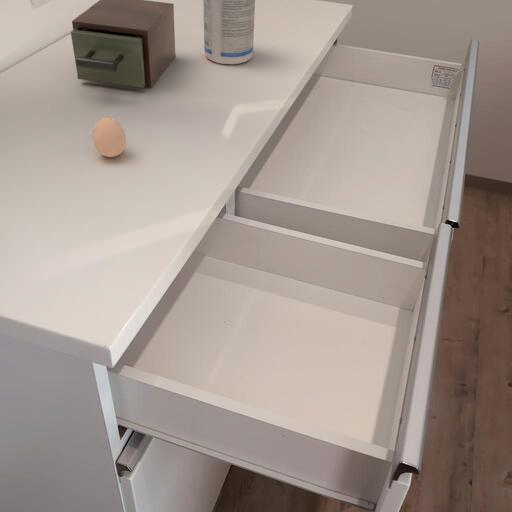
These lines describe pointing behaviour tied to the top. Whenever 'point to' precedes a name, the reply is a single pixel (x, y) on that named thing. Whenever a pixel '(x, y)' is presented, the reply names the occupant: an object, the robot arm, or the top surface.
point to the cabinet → (137, 29)
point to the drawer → (109, 57)
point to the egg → (109, 137)
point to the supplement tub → (228, 30)
